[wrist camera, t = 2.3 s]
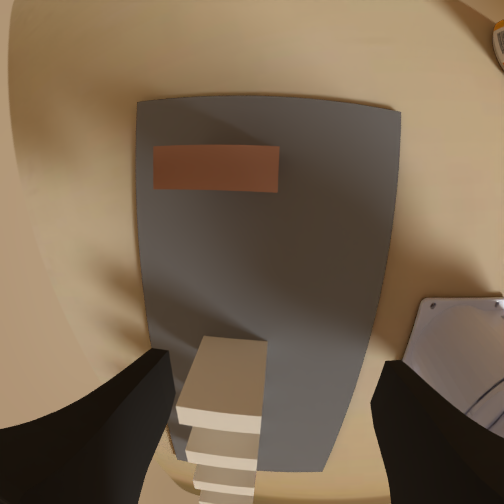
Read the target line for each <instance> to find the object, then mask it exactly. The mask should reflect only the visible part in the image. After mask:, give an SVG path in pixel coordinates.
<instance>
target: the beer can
mask: <svg viewBox="0 0 504 504" xmlns="http://www.w3.org/2000/svg"><path fill="white" fill-rule="evenodd" d="M493 47H494V51H495V54H496V57H497V59H498V61H499V63H500V65H501V67H502V68H503V70H504V20H502V21H499V22H498V23H497V24H496V25H495V27H494V31H493Z"/></svg>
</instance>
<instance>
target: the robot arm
mask: <svg viewBox="0 0 504 504" xmlns="http://www.w3.org/2000/svg"><path fill="white" fill-rule="evenodd" d="M432 303H434V304H433V306H432V307H430V306H431V304H432ZM175 395H176V391H175V385H174V379H173V373H172V367H171V361H170V354H169V350H163V349H156V348H151V349H150V350H149V351H147V352H146V353H145V354H143V355H142V356H141V357H140V358H138V359H137V360H136V361H134V362H133V363H132V364H131V365H129V366H128V367H127V368H125V369H124V370H123V371H121V372H120V373H119V374H117V375H116V376H115V377H113V378H112V379H110V380H109V381H108V382H106V383H105V384H103V385H102V386H100V387H99V388H97V389H96V390H94V391H92V392H91V393H89V394H88V395H87V396H85V397H83V398H81V399H80V400H78V401H76V402H74V403H72V404H70V405H68V406H66V407H64V408H62V409H60V410H58V411H56V412H54V413H51V414H48V415H46V416H43V417H41V418H38V419H36V420H33V421H30V422H27V423H23V424H20V425H16V426H12V427H8V428H4V429H0V504H138V501H139V497H140V492H141V489H142V486H143V482H144V478H145V475H146V472H147V470H148V467H149V464H150V462H151V460H152V457H153V455H154V453H155V450H156V448H157V446H158V443H159V441H160V439H161V436H162V434H163V432H164V429H165V427H166V425H167V422H168V420H169V417H170V414H171V410H172V407H173V403H174V399H175ZM370 404H371V411H372V418H373V425H374V429H375V433H376V437H377V440H378V444H379V447H380V451H381V454H382V458H383V462H384V465H385V469H386V473H387V477H388V482H389V487H390V496H391V504H504V297H487V298H425V299H423V300H422V301H421V303H420V306H419V310H418V313H417V317H416V320H415V323H414V327H413V330H412V333H411V336H410V339H409V342H408V345H407V348H406V351H405V354H404V357H403V359H402V360H393V361H385V364H384V367H383V370H382V373H381V376H380V378H379V381H378V384H377V387H376V389H375V392H374V394H373V397H372V400H371V402H370Z"/></svg>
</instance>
